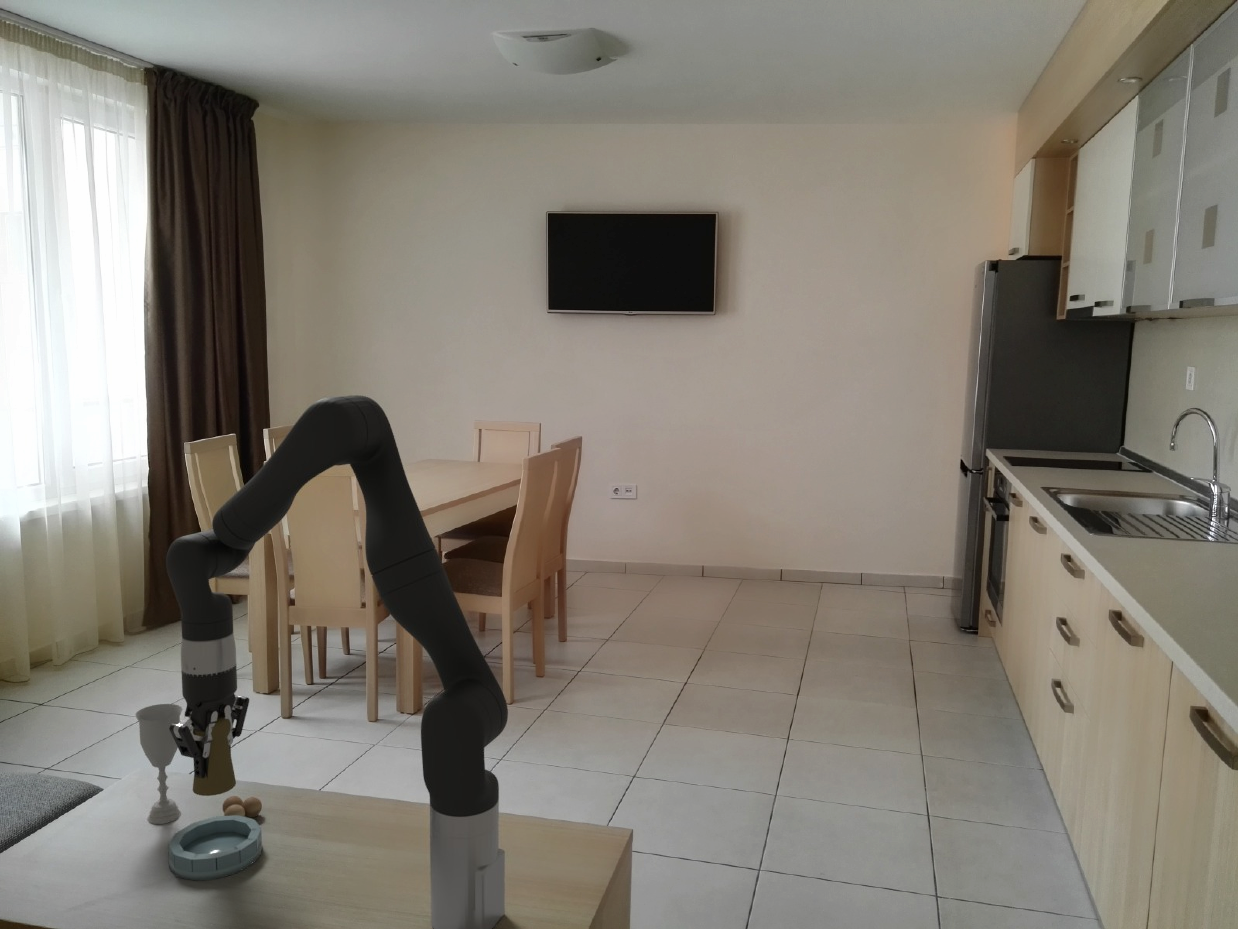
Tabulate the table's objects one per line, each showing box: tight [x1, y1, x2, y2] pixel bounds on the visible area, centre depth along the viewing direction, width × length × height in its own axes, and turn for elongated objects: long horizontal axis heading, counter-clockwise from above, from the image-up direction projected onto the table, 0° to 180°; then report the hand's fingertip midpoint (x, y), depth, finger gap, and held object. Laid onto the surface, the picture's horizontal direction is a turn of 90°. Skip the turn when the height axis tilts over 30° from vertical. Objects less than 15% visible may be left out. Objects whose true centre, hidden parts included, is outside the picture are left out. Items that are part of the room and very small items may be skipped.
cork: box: [192, 717, 237, 797], centre depth 141 cm, size 6×6×11 cm
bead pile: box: [222, 795, 263, 819], centre depth 153 cm, size 6×6×3 cm
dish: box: [167, 815, 263, 881], centre depth 143 cm, size 13×13×3 cm
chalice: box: [135, 703, 184, 825], centre depth 153 cm, size 7×7×18 cm
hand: (213, 773), depth 141 cm, fingers closed on cork, 3 cm apart
